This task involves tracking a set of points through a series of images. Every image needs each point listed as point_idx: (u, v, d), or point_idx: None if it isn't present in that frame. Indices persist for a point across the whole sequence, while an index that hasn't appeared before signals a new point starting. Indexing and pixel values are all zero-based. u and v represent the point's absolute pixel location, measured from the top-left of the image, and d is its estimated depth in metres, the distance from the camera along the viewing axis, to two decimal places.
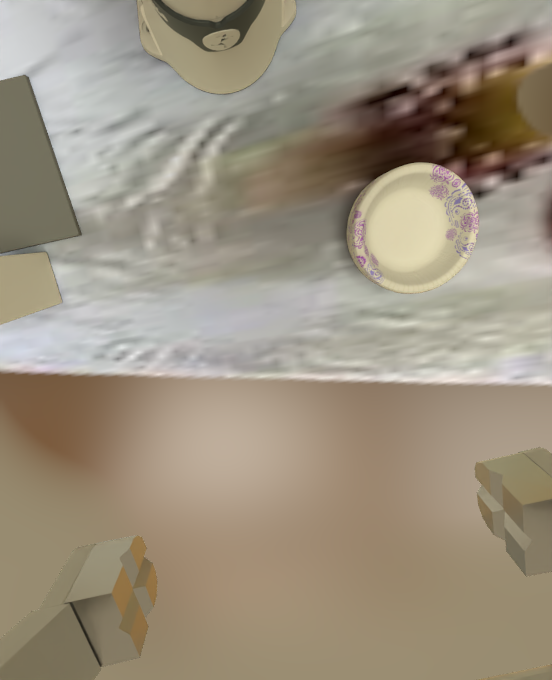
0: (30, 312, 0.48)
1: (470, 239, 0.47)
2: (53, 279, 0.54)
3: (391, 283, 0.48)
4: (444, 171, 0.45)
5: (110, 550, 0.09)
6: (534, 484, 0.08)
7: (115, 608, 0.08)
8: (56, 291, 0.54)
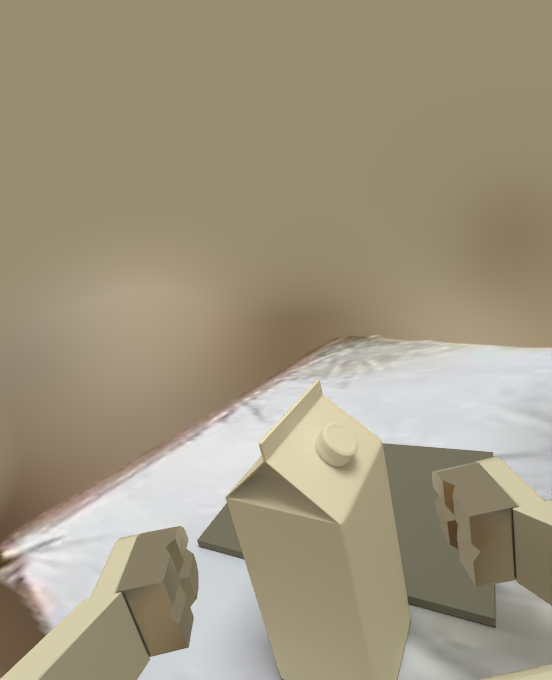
0: (365, 629, 0.21)
1: None
2: (398, 666, 0.25)
3: None
4: None
5: (155, 540, 0.09)
6: (483, 495, 0.08)
7: (166, 597, 0.08)
8: None
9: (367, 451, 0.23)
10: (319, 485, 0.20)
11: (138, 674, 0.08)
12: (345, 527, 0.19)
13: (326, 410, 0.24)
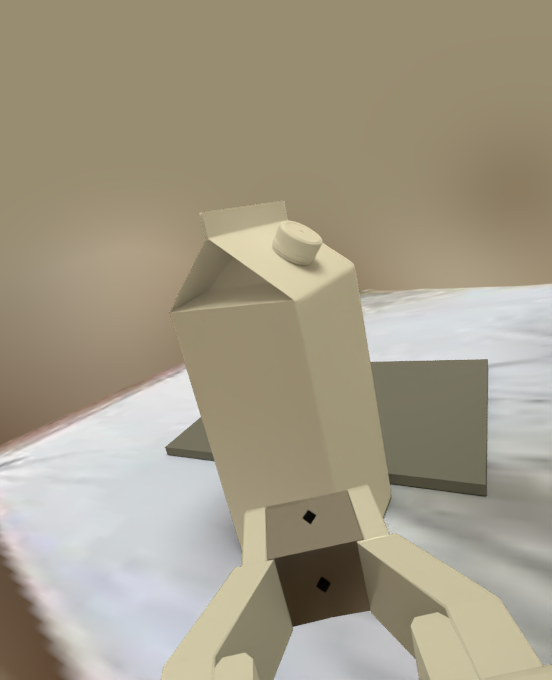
0: (329, 451, 0.17)
1: None
2: None
3: None
4: None
5: (287, 512, 0.09)
6: (337, 526, 0.08)
7: (317, 565, 0.08)
8: None
9: (336, 265, 0.20)
10: (272, 269, 0.16)
11: (286, 643, 0.08)
12: (300, 308, 0.16)
13: None
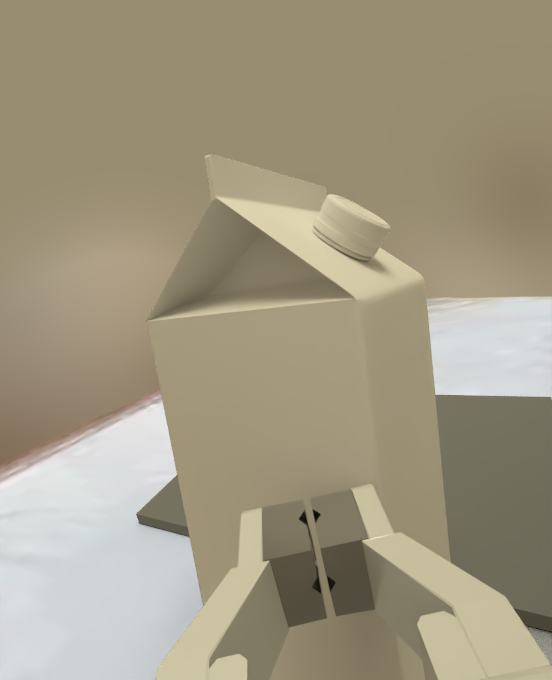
0: None
1: None
2: None
3: None
4: None
5: (283, 513, 0.09)
6: (341, 525, 0.08)
7: (313, 566, 0.08)
8: None
9: (402, 272, 0.13)
10: (316, 254, 0.10)
11: (282, 644, 0.08)
12: (365, 314, 0.09)
13: None
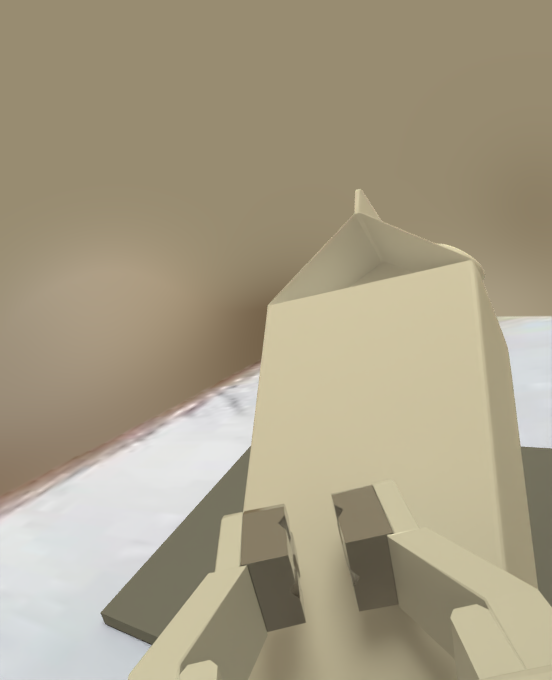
0: (505, 546, 0.08)
1: None
2: None
3: None
4: None
5: (264, 517, 0.09)
6: (365, 520, 0.08)
7: (290, 571, 0.08)
8: None
9: None
10: None
11: (260, 648, 0.08)
12: (478, 276, 0.11)
13: None
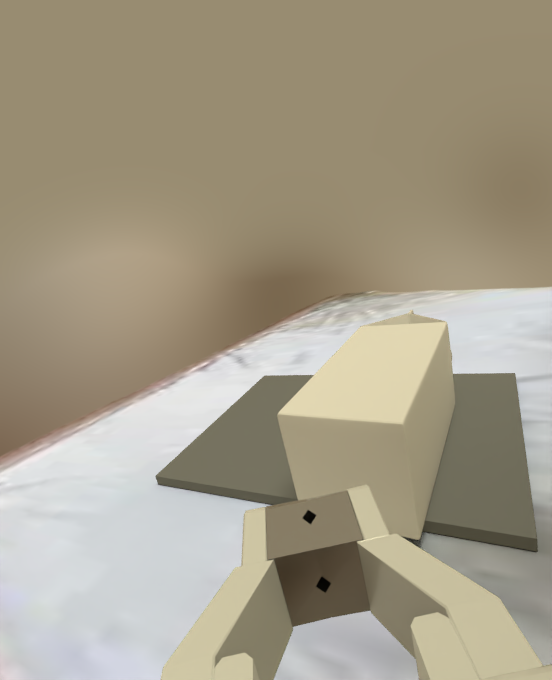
0: (432, 360, 0.25)
1: None
2: (414, 476, 0.20)
3: None
4: None
5: (287, 512, 0.09)
6: (337, 526, 0.08)
7: (317, 565, 0.08)
8: (411, 446, 0.19)
9: None
10: None
11: (286, 643, 0.08)
12: (447, 326, 0.30)
13: None
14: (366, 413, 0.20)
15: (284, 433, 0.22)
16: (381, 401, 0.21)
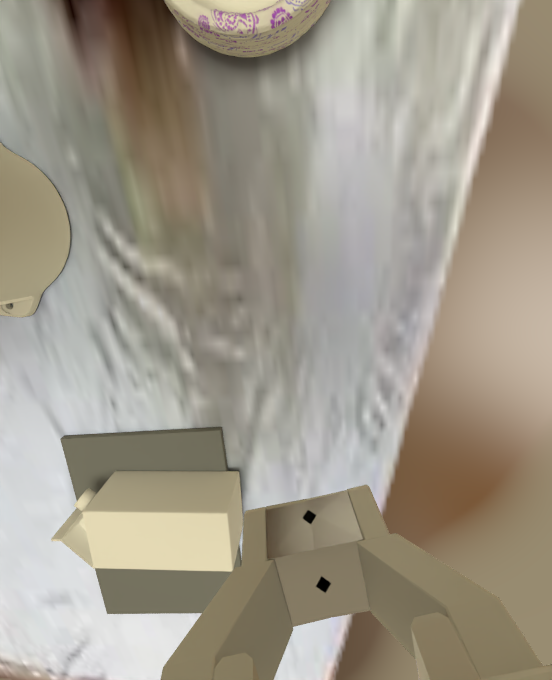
0: (150, 511, 0.39)
1: None
2: (228, 491, 0.41)
3: None
4: None
5: (287, 512, 0.09)
6: (337, 526, 0.08)
7: (317, 565, 0.08)
8: (224, 501, 0.40)
9: (106, 482, 0.45)
10: (79, 515, 0.41)
11: (286, 643, 0.08)
12: (87, 510, 0.40)
13: None
14: (222, 530, 0.39)
15: (234, 560, 0.41)
16: (208, 527, 0.39)
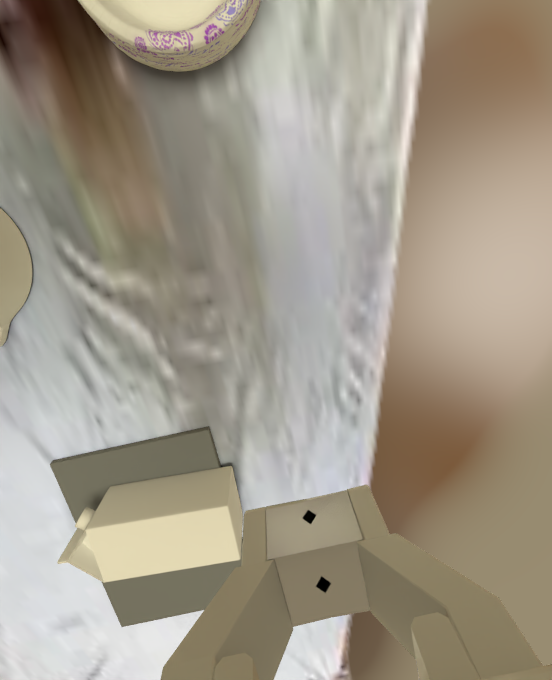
0: (152, 517, 0.40)
1: None
2: (225, 485, 0.43)
3: None
4: None
5: (287, 512, 0.09)
6: (337, 526, 0.08)
7: (317, 565, 0.08)
8: (222, 495, 0.42)
9: (103, 498, 0.45)
10: (82, 534, 0.42)
11: (286, 643, 0.08)
12: (89, 527, 0.40)
13: None
14: (225, 522, 0.41)
15: (240, 549, 0.43)
16: (211, 521, 0.41)
